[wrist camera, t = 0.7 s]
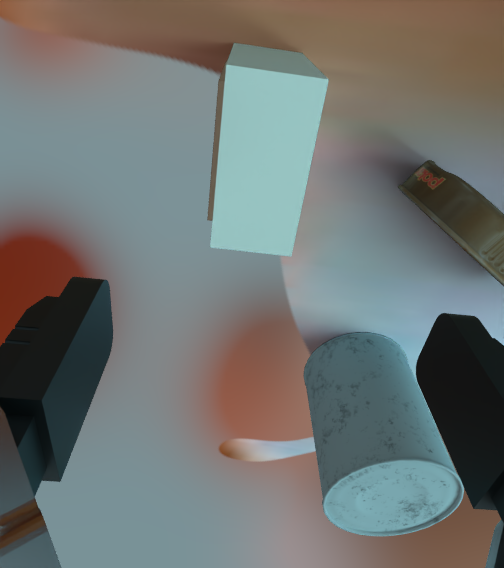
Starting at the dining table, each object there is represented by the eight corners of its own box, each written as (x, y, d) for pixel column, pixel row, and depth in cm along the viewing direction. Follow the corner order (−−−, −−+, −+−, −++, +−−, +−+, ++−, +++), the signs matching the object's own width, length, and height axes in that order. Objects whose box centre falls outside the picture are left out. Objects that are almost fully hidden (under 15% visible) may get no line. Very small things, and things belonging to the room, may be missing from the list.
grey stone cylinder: (315, 414, 43) (337, 544, 32) (292, 346, 38) (308, 476, 27) (412, 394, 41) (466, 524, 31) (401, 320, 36) (461, 448, 26)
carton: (302, 52, 25) (328, 79, 16) (279, 183, 29) (291, 256, 21) (228, 41, 24) (218, 63, 16) (217, 175, 29) (204, 246, 21)
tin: (381, 172, 29) (424, 227, 22) (418, 135, 27) (476, 182, 20) (504, 287, 34) (570, 361, 27) (540, 261, 33) (620, 332, 26)
